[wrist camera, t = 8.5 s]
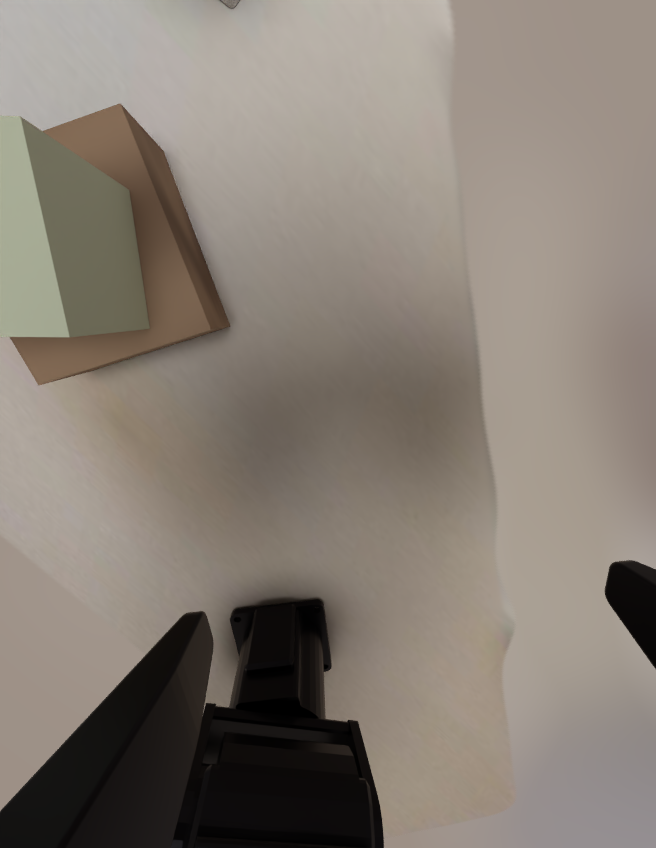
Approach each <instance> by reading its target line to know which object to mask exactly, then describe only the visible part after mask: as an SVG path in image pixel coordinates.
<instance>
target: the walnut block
mask: <svg viewBox="0 0 656 848" xmlns="http://www.w3.org/2000/svg"><path fill="white" fill-rule="evenodd" d="M42 132H44V133H45V134H47V135H48V136H50V137H51V138H53V139H54V140H56V141H57V142H59V143H60V144H62V145H63V146H65V147H66V148H68V149H69V150H71V151H72V152H74V153H75V154H77V155H78V156H80V157H81V158H83V159H84V160H85V161H87V162H88V163H90V164H91V165H93V166H94V167H96V168H97V169H99V170H100V171H102V172H103V173H105V174H106V175H108V176H109V177H111V178H112V179H114V180H115V181H117V182H118V183H120V184H121V185H123V186H124V187H126V188H127V189H128V190H129V192H130V199H131V205H132V212H133V219H134V226H135V232H136V239H137V246H138V252H139V259H140V266H141V272H142V279H143V286H144V293H145V299H146V306H147V313H148V319H149V326H150V329H143V330H134V331H125V332H115V333H106V334H96V335H87V336H77V337H10V338H11V340H12V342H13V343H14V345H15V347H16V348H17V350H18V352H19V353H20V355H21V357H22V358H23V360H24V362H25V363H26V365H27V367H28V368H29V370H30V372H31V373H32V375H33V377H34V378H35V380H36V382H37V383H38V385H42V384H45V383H49V382H53V381H56V380H60V379H64V378H67V377H71V376H75V375H78V374H82V373H86V372H89V371H93V370H96V369H99V368H102V367H105V366H108V365H111V364H114V363H118V362H121V361H124V360H127V359H130V358H133V357H136V356H139V355H142V354H146V353H149V352H152V351H155V350H158V349H161V348H164V347H167V346H170V345H174V344H177V343H180V342H183V341H186V340H189V339H192V338H195V337H198V336H202V335H205V334H208V333H211V332H214V331H217V330H220V329H223V328H226V327H230V324H229V322H228V319H227V317H226V314H225V311H224V309H223V306H222V303H221V301H220V298H219V296H218V293H217V290H216V288H215V285H214V282H213V280H212V277H211V275H210V272H209V269H208V267H207V264H206V262H205V259H204V256H203V254H202V251H201V248H200V246H199V243H198V241H197V238H196V235H195V233H194V230H193V228H192V225H191V222H190V220H189V217H188V214H187V212H186V209H185V207H184V204H183V201H182V199H181V196H180V194H179V191H178V188H177V186H176V183H175V180H174V178H173V175H172V173H171V170H170V167H169V165H168V162H167V160H166V157H165V154H164V152H163V150H162V149H161V148H160V147H159V146H158V145H157V143H156V142H155V141H154V140H153V139H152V138H151V137H150V136H149V135H148V133H147V132H146V131H145V130H144V129H143V128H142V127H141V126H140V125H139V124H138V122H137V121H136V120H135V119H134V118H133V117H132V116H131V115H130V114H129V113H128V111H127V110H126V109H125V108H124V107H123V106H122V105H121V104H117V105H115V106H112V107H109V108H106V109H103V110H101V111H98V112H95V113H92V114H89V115H87V116H84V117H81V118H78V119H75V120H73V121H70V122H67V123H64V124H61V125H59V126H56V127H53V128H50V129H47V130H45V131H42Z"/></svg>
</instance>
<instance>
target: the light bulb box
mask: <svg viewBox="0 0 656 848" xmlns="http://www.w3.org/2000/svg"><path fill="white" fill-rule="evenodd" d="M221 1H222V2H223V3H225V4H226V5H227V6H228V7H230V8H234V7H235V6H236V5H237V3H238V2H239V0H221Z"/></svg>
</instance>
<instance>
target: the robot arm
mask: <svg viewBox="0 0 656 848" xmlns="http://www.w3.org/2000/svg"><path fill="white" fill-rule="evenodd" d="M605 595H606V598H607V601H608V602H609V604H610V606H611V607H612V608H613V610H614V611H615V612H616V614H617V615H618V617H619V618H620V620H621V621H622V622H623V624H624V625H625V626H626V628H627V629H628V631H629V632H630V634H631V635H632V637H633V638H634V639H635V641H636V642H637V644H638V645H639V646H640V648H641V649H642V651H643V652H644V653H645V655H646V656H647V658H648V659H649V660H650V662H651V663H652V665H653V666H654V667H655V668H656V569H653V568H651V567H648V566H646V565H644V564H641V563H639V562H635V561H632V560H629V561H619V562H614V563H612V564H611V565H610V567H609V572H608V577H607V582H606V586H605ZM315 607H319V608H315ZM230 622H231V626H232V630H233V634H234V638H235V642H236V646H237V650H238V654H239V661H238V666H237V671H236V676H235V681H234V686H233V691H232V696H231V701H230V706H229V708H227V707H218V706H216V704H211V703H206V706H205V709H204V703H205V697H206V691H207V685H208V679H209V673H210V667H211V660H212V654H213V637H212V633H211V629H210V626H209V622H208V619H207V616H206V614H205V612H203V611H199V612H190V613H186V614H184V615H183V616H182V617H181V618H180V619H179V620H178V621H177V622H176V623H175V624H174V625H173V626H172V627H171V629H170V630H169V631H168V632H167V633H166V634H165V635H164V636H163V637H162V638H161V639H160V640H159V641H158V642H157V644H156V645H155V646H154V647H153V648H152V649H151V650H150V651H149V652H148V653H147V654H146V655H145V656H144V657H143V659H142V660H141V661H140V662H139V663H138V664H137V665H136V666H135V667H134V668H133V669H132V670H131V671H130V672H129V674H128V675H127V676H126V677H125V678H124V679H123V680H122V681H121V682H120V683H119V684H118V685H117V686H116V688H115V689H114V690H113V691H112V692H111V693H110V694H109V695H108V696H107V697H106V698H105V699H104V700H103V701H102V703H101V704H100V705H99V706H98V707H97V708H96V709H95V710H94V711H93V712H92V713H91V714H90V716H88V718H87V719H86V720H85V721H84V722H83V723H82V724H81V725H80V726H79V727H78V728H77V729H76V730H75V731H74V733H73V734H72V735H71V736H70V737H69V738H68V739H67V740H66V741H65V742H64V743H63V744H62V745H61V747H60V748H59V749H58V750H57V751H56V752H55V753H54V754H53V755H52V756H51V757H50V758H49V759H48V760H47V762H46V763H45V764H44V765H43V766H42V767H41V768H40V769H39V770H38V771H37V772H36V773H35V774H34V775H33V777H32V778H31V779H30V780H29V781H28V782H27V783H26V784H25V785H24V786H23V787H22V788H21V789H20V791H19V792H18V793H17V794H16V795H15V796H14V797H13V798H12V799H11V800H10V801H9V802H8V803H7V805H6V806H5V807H4V808H3V809H2V810H1V811H0V848H384V840H383V826H382V817H381V810H380V804H379V800H378V795H377V791H376V788H375V784H374V780H373V776H372V773H371V769H370V765H369V761H368V758H367V754H366V750H365V746H364V743H363V739H362V735H361V731H360V728H359V724H358V721H353V720H348V721H347V722H345V721H336V720H328V719H325V694H324V672H326V671H329V670H330V669H331V656H330V648H329V641H328V633H327V626H326V618H325V610H324V604H323V602H322V601H320V600H310V601H302V602H293V603H285V604H277V605H268V606H260V607H252V608H243V609H236V610H234V611H233V612H232V613H231V617H230ZM203 710H204V713H203Z"/></svg>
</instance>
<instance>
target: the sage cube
mask: <svg viewBox="0 0 656 848" xmlns="http://www.w3.org/2000/svg"><path fill="white" fill-rule="evenodd" d="M143 329H150V326H149V319H148V313H147V306H146V299H145V293H144V286H143V279H142V272H141V266H140V259H139V252H138V246H137V239H136V232H135V226H134V219H133V212H132V205H131V199H130V192H129V190H128V189H127V188H126V187H124V186H123V185H121V184H120V183H118V182H117V181H115V180H114V179H112V178H111V177H109V176H108V175H106V174H105V173H103V172H102V171H100V170H99V169H97V168H96V167H94V166H93V165H91V164H90V163H88V162H87V161H85V160H84V159H83V158H81V157H80V156H78V155H77V154H75V153H74V152H72V151H71V150H69V149H68V148H66V147H65V146H63V145H62V144H60V143H59V142H57V141H56V140H54V139H53V138H51V137H50V136H48V135H47V134H45V133H44V132H42V131H41V130H40V129H38V128H37V127H35V126H34V125H32V124H31V123H29V122H28V121H26V120H25V119H23V118H22V117H19V116H0V337H77V336H87V335H96V334H106V333H115V332H125V331H134V330H143Z"/></svg>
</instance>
